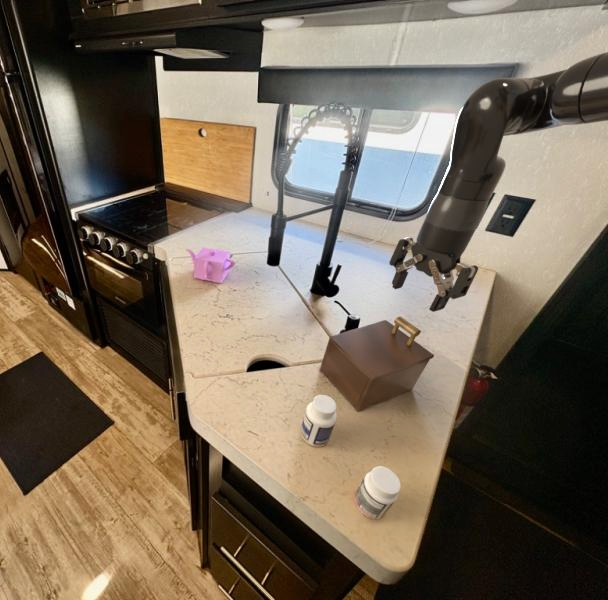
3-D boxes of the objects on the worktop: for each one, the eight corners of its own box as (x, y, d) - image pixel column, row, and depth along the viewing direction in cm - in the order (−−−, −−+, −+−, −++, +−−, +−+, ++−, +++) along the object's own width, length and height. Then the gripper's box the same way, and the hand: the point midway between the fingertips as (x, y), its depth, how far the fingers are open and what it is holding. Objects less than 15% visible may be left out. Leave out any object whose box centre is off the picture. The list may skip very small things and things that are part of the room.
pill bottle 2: (374, 486, 53) (391, 461, 48) (391, 517, 49) (411, 493, 45) (348, 490, 53) (362, 465, 48) (363, 522, 49) (380, 498, 44)
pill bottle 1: (331, 430, 62) (344, 399, 56) (324, 452, 58) (336, 422, 52) (304, 417, 64) (314, 386, 58) (296, 438, 60) (305, 407, 55)
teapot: (179, 280, 108) (177, 254, 102) (194, 262, 118) (194, 237, 113) (228, 290, 103) (230, 263, 97) (240, 270, 113) (241, 245, 107)
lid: (384, 322, 74) (392, 304, 71) (432, 358, 65) (444, 339, 62) (329, 339, 69) (334, 321, 66) (372, 380, 60) (381, 361, 57)
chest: (369, 352, 80) (381, 323, 74) (411, 389, 70) (430, 359, 64) (319, 369, 75) (328, 339, 69) (357, 411, 65) (372, 381, 60)
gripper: (510, 233, 49) (462, 314, 58) (428, 205, 60) (398, 277, 69) (479, 240, 47) (433, 323, 56) (399, 210, 57) (372, 284, 67)
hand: (414, 298), depth 63 cm, fingers open, 8 cm apart
